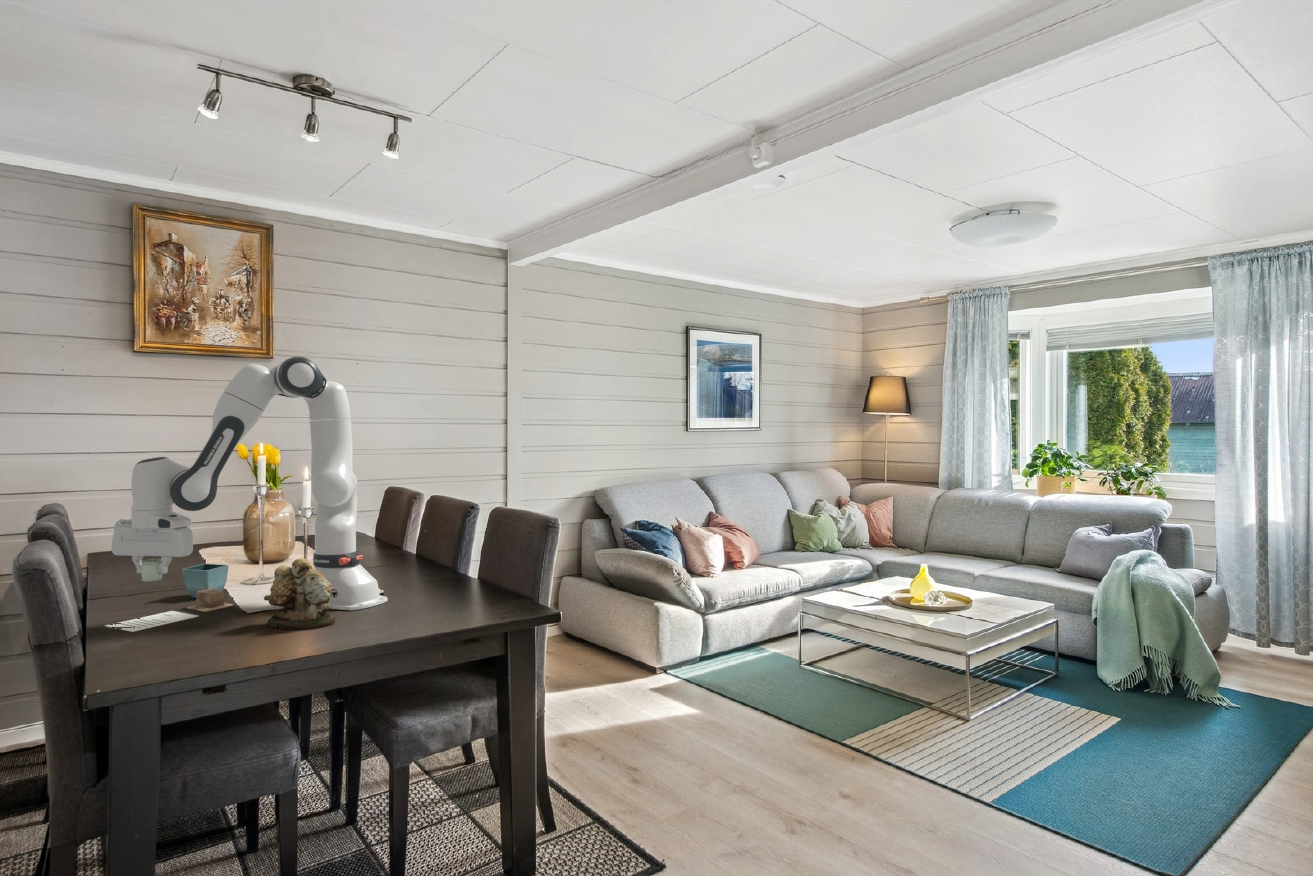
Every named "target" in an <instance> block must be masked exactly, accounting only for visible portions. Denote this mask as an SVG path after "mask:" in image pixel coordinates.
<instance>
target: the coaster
mask: <svg viewBox="0 0 1313 876" xmlns="http://www.w3.org/2000/svg"><path fill="white" fill-rule="evenodd" d="M231 606H234V604H233V603H229V602H228V603H227V602H224V605H223V606H219V607H214V608H205V607H199V606H196V604H195V605H191V606H187V608H186V609H187V610H194V611H199V612H210V611H215V610H218V609H223V608H228V607H231Z"/></svg>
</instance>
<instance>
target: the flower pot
mask: <svg viewBox="0 0 1313 876" xmlns="http://www.w3.org/2000/svg"><path fill="white" fill-rule="evenodd" d="M229 568H230V567H229V564H220V563H219V564H216V563H201V564H198V565H197V564H196V565H193V566H189V567H186V568H182V570H181V571H182V577H183V583H184V586H185V589H186V590H187V592H188V594H189V595H190V596H191V598H193V599H194V598H195V599H196V592H198V591H203V590H207V589H214V590H220V591H224V588H225V587H226V584H227V580H228V575H229Z"/></svg>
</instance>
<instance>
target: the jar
mask: <svg viewBox="0 0 1313 876" xmlns="http://www.w3.org/2000/svg"><path fill="white" fill-rule="evenodd" d="M162 563H163V561H162V560H161V558H150V559H149V558H148V559H142V561H141V564H142V573H141V581H142V582H156V581H160V580H163V574H158V567H160V566H161V565H162Z"/></svg>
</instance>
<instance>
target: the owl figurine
mask: <svg viewBox="0 0 1313 876" xmlns="http://www.w3.org/2000/svg"><path fill="white" fill-rule="evenodd" d="M274 570H275V571H274V575H273V577H274V580H273V581H272V585H271V587H270V589H269V590H270V591H269V592H270V594H269V595H267V594H266V595H265V596H264V597H263V600H264V601H268V604H269V605H271V606H273V607H274V606H275V607H282V608H281V609H280V610H278V611H276V612H275V613H274V614H273V615H272V616H271V617H270V618H269V619H268V620H267V626H268V628H272V629H273V628H274V629H280V630H285V631H286V630H288V631H292V630H293V631H297V630H299V631H301V630H302V631H303V630H313V629H320V628H321V627H322V628H325V627H329V626H332V625H333V624H335V622H336V619H335V617H334V616H332V615H331V613H329V612H327V611H329V610H332V609H331V605H330V604H328V602H329V599H330V596H331V593H332V591H331V590H332V588H331V586H332V585H331V583H330V582H329V581H327V580H326V578H325V577H324V576H323V575H322V573H321V572H319V571H316V569H315V568H313V565H312V563H311V561H309V560H308V559H306V558H303V557H299V558H296V559H295V560H294V561H292V563H291V566H288V565H286V564H285V565H283V564H282V565H280V566H278V567H276V568H275V569H274Z"/></svg>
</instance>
